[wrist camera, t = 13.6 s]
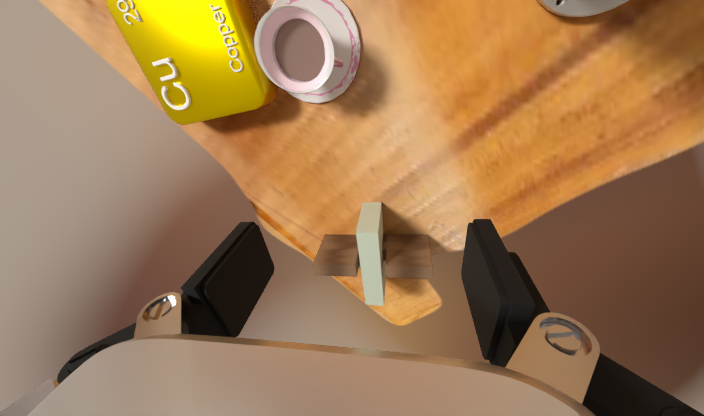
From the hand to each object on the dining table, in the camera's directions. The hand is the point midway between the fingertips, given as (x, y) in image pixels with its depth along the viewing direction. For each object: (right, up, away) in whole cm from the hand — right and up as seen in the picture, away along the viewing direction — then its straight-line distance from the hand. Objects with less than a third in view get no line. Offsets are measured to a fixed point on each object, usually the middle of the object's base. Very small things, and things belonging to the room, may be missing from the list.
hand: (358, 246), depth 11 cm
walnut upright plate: (+4, -4, +33) cm, 34 cm away
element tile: (-19, +22, +22) cm, 36 cm away
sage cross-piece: (+4, -4, +33) cm, 34 cm away
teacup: (-5, +21, +20) cm, 29 cm away
